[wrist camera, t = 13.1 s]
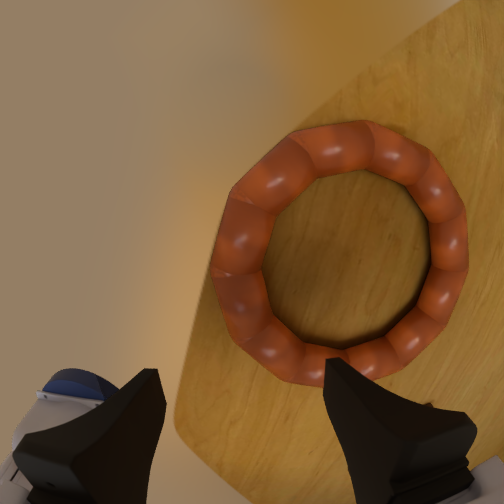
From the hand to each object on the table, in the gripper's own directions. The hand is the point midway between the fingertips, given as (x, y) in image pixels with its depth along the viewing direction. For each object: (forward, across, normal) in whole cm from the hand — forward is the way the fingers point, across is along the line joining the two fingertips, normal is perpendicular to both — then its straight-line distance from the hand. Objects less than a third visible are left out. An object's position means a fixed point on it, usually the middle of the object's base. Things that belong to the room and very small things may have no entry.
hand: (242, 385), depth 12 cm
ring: (+7, -8, -3) cm, 11 cm away
